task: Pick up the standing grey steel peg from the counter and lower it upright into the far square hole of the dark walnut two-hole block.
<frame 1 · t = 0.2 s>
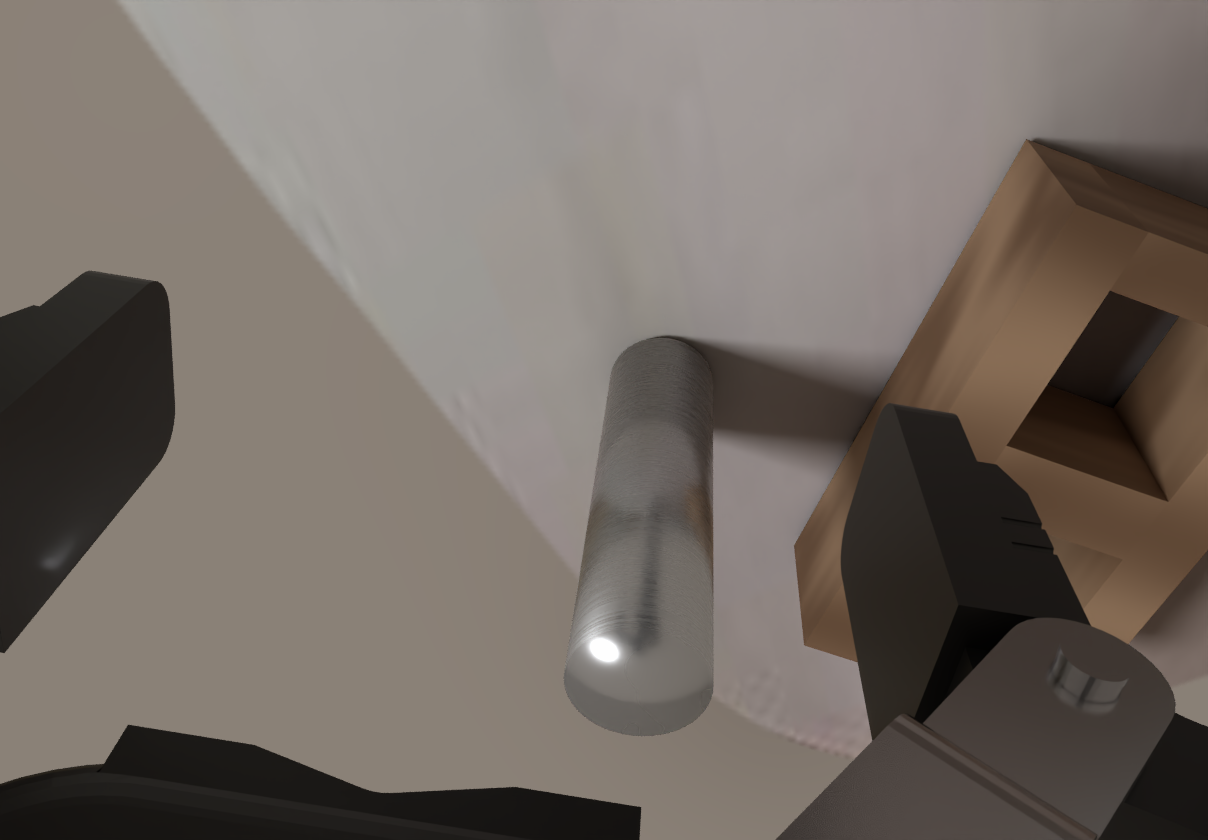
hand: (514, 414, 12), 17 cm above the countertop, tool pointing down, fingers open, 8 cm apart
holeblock: (1023, 411, 32), on the countertop
peg: (661, 383, 32), on the countertop
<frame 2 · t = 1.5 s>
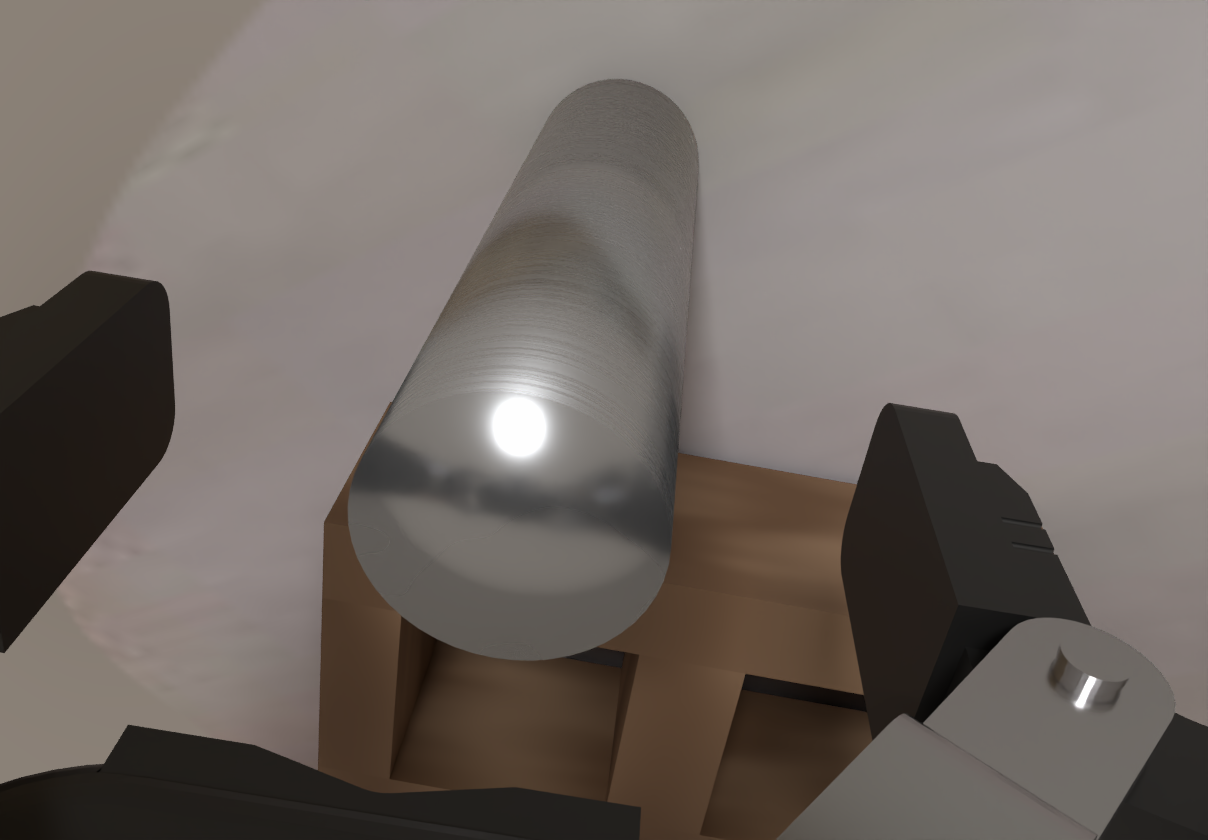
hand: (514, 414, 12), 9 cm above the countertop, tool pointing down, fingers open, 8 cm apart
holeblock: (679, 603, 25), on the countertop
peg: (617, 161, 21), on the countertop
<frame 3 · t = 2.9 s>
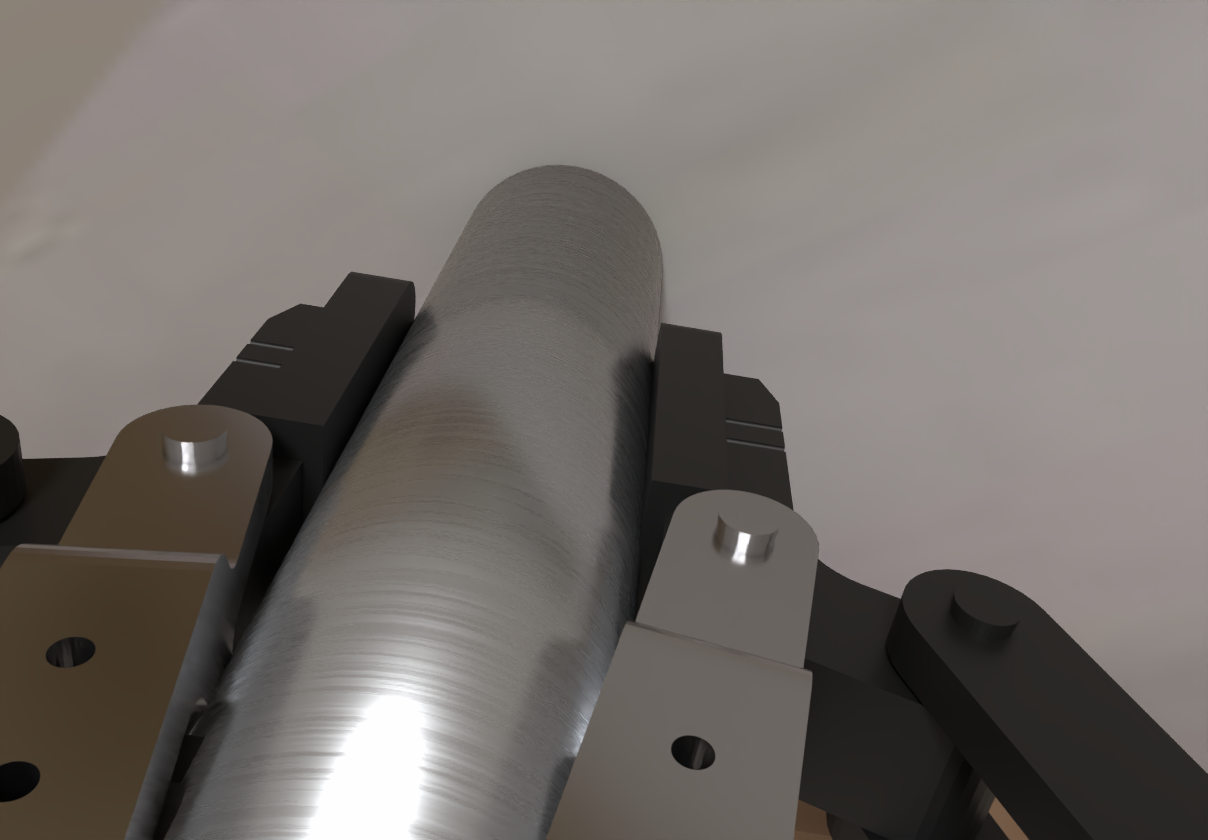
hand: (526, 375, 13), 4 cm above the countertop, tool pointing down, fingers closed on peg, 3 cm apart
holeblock: (649, 767, 21), on the countertop
peg: (561, 264, 16), on the countertop, touching gripper
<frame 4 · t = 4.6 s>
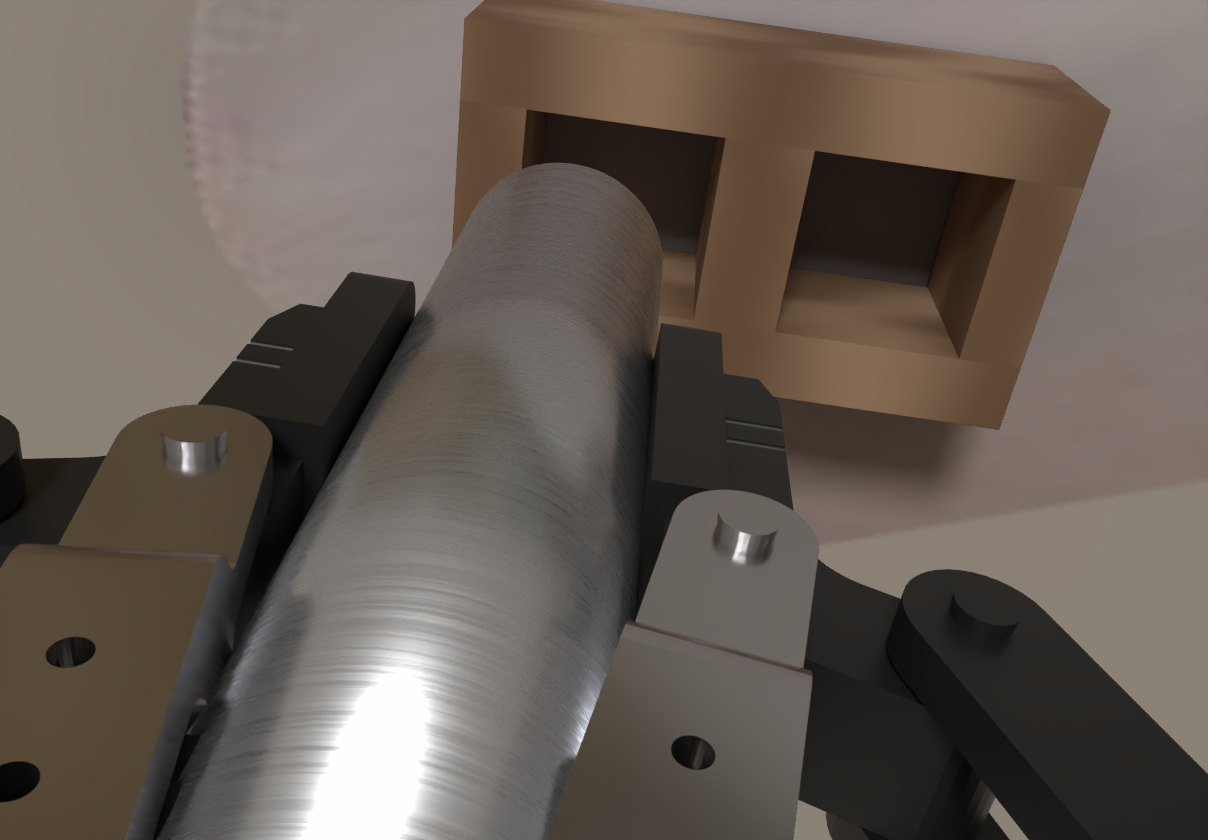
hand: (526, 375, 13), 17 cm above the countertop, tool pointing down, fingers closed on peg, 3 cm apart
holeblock: (746, 180, 30), on the countertop
peg: (562, 261, 16), point 14 cm above the countertop, touching gripper
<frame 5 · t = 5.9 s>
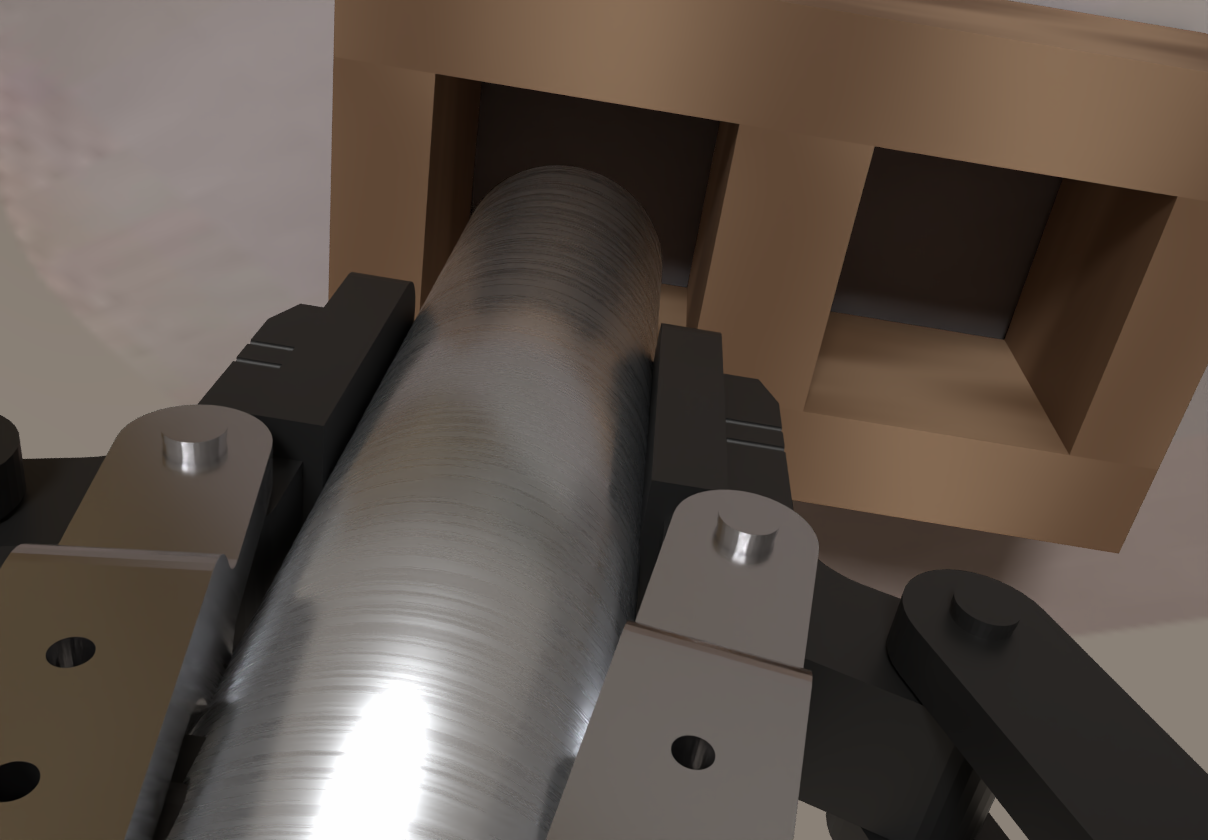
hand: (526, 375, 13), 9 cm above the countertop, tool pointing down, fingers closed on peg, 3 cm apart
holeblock: (759, 188, 21), on the countertop
peg: (561, 264, 16), point 5 cm above the countertop, touching gripper
when the fingers open (6 cm above the countertop, at t = 6.8 s): peg drops 2 cm, resting in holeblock.
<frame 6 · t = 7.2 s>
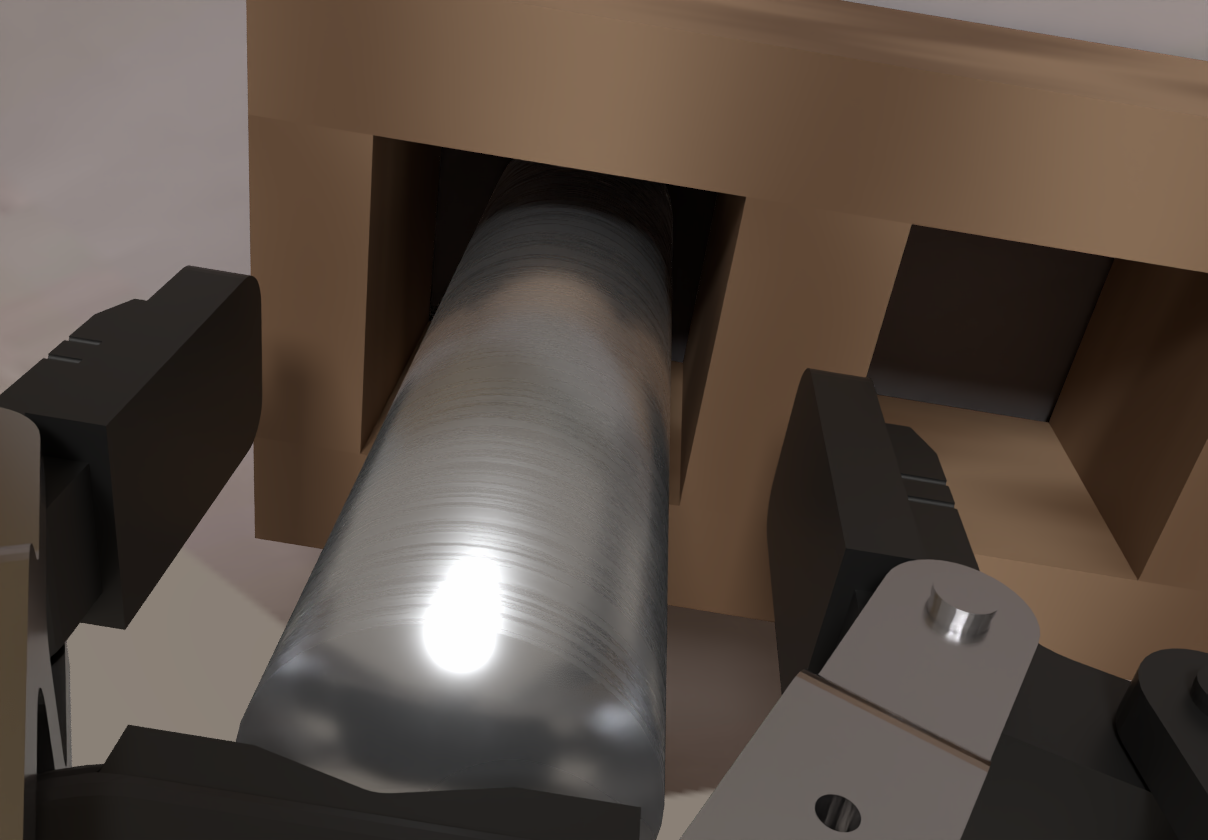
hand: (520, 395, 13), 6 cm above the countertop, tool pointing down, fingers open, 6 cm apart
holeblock: (767, 252, 18), on the countertop
peg: (581, 221, 18), resting in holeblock
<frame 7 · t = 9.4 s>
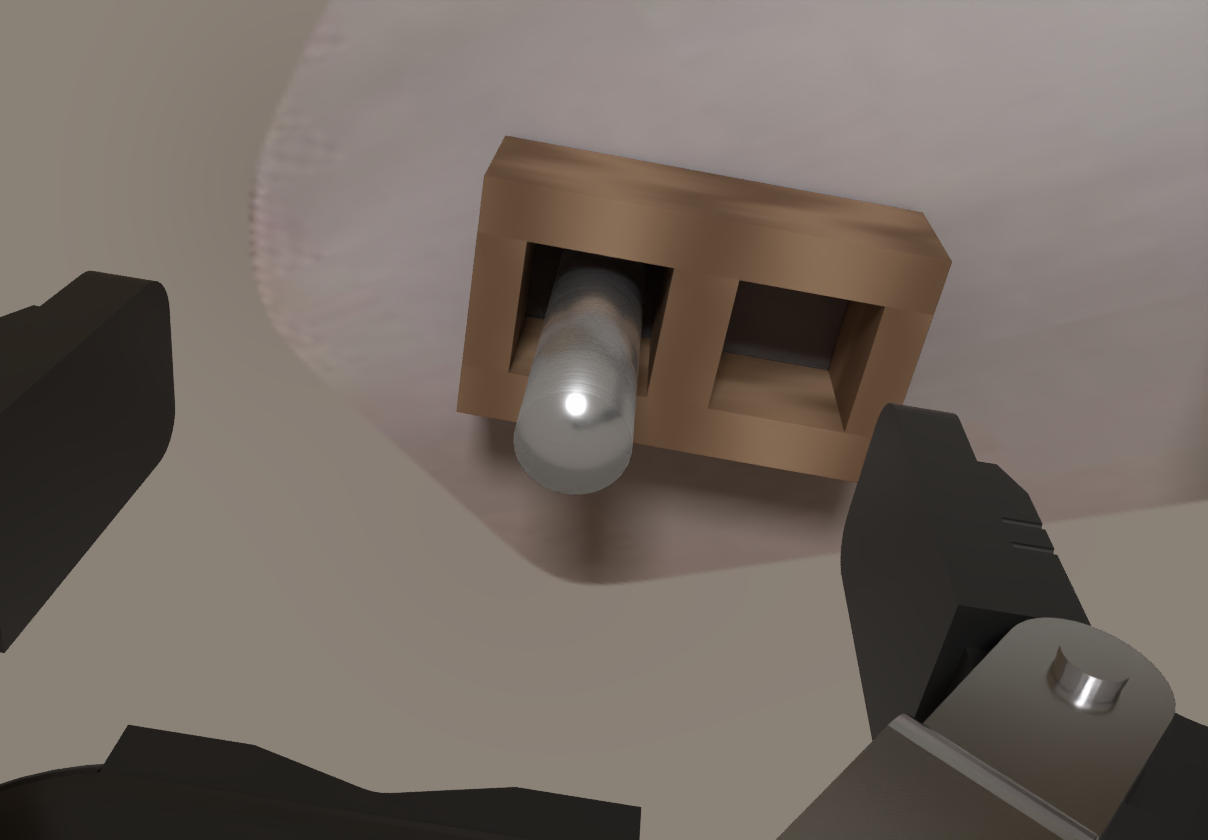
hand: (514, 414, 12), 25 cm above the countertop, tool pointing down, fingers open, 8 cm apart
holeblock: (690, 285, 38), on the countertop
peg: (602, 269, 38), resting in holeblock
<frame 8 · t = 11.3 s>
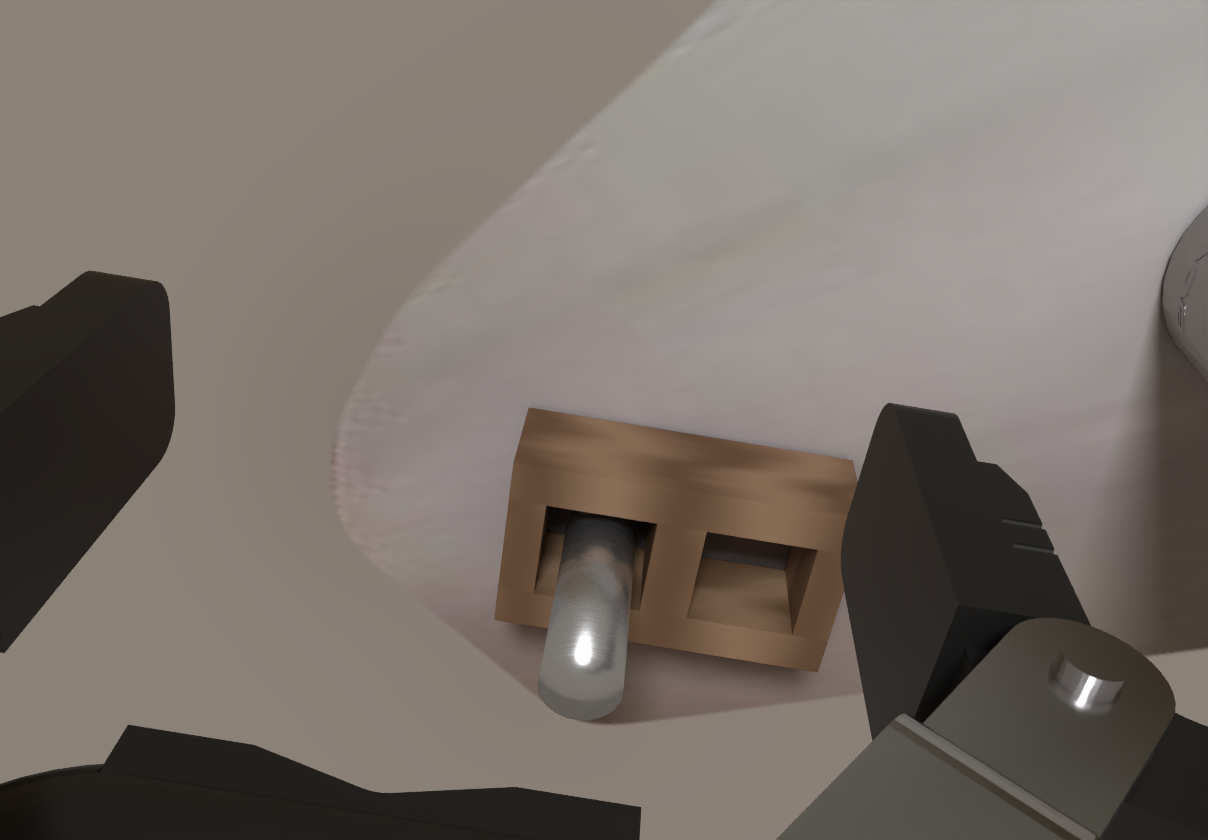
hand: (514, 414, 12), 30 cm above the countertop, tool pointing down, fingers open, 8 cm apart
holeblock: (674, 510, 49), on the countertop
peg: (605, 499, 49), resting in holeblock
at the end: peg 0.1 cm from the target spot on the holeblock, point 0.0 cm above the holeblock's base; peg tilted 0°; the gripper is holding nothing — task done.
